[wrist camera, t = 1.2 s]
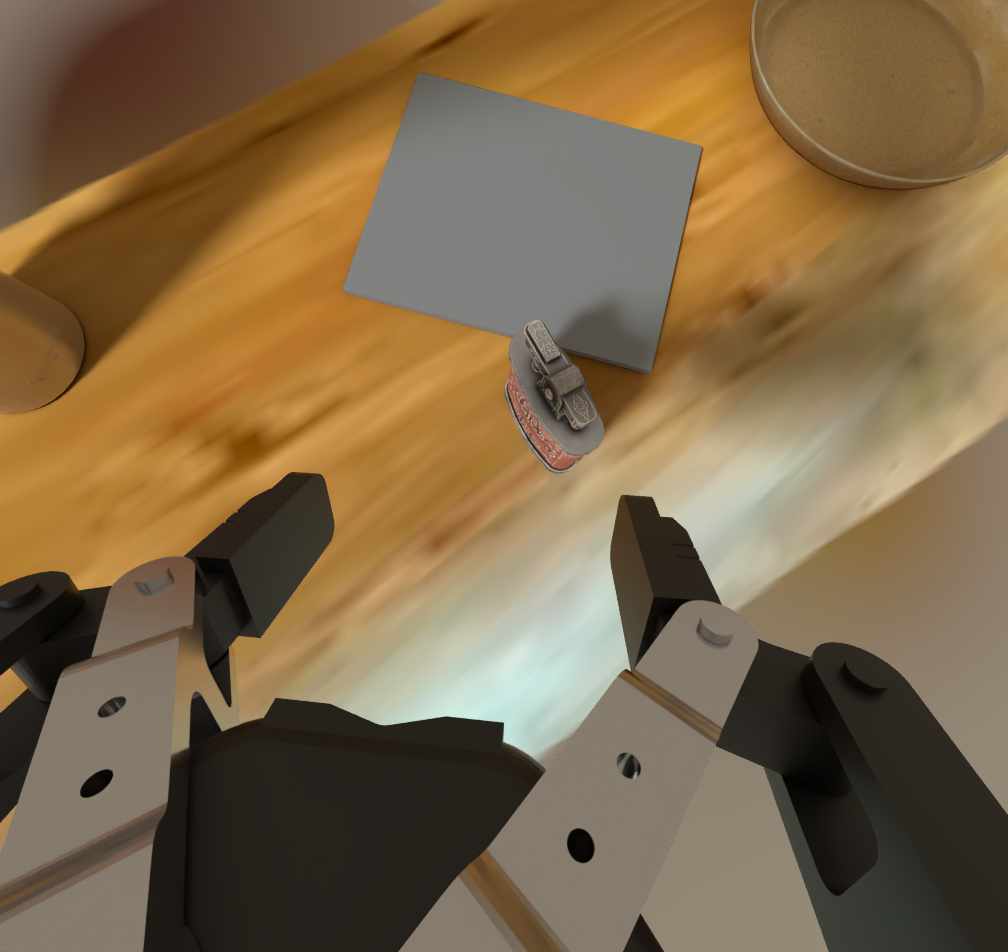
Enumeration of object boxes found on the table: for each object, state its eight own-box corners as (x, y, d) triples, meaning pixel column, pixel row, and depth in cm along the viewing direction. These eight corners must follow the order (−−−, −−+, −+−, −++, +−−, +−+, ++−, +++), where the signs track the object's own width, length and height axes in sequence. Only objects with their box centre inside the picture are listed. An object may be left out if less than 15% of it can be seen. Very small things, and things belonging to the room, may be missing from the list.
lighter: (587, 460, 31) (633, 425, 21) (547, 482, 30) (575, 456, 20) (533, 368, 31) (553, 292, 22) (494, 388, 31) (496, 320, 21)
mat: (345, 293, 32) (342, 288, 31) (420, 79, 35) (418, 71, 34) (648, 374, 32) (651, 371, 31) (698, 152, 34) (701, 146, 34)
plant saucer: (1054, 138, 36) (1110, 98, 33) (835, 259, 34) (871, 229, 31) (889, -63, 39) (926, -118, 35) (676, 38, 36) (694, -12, 33)
